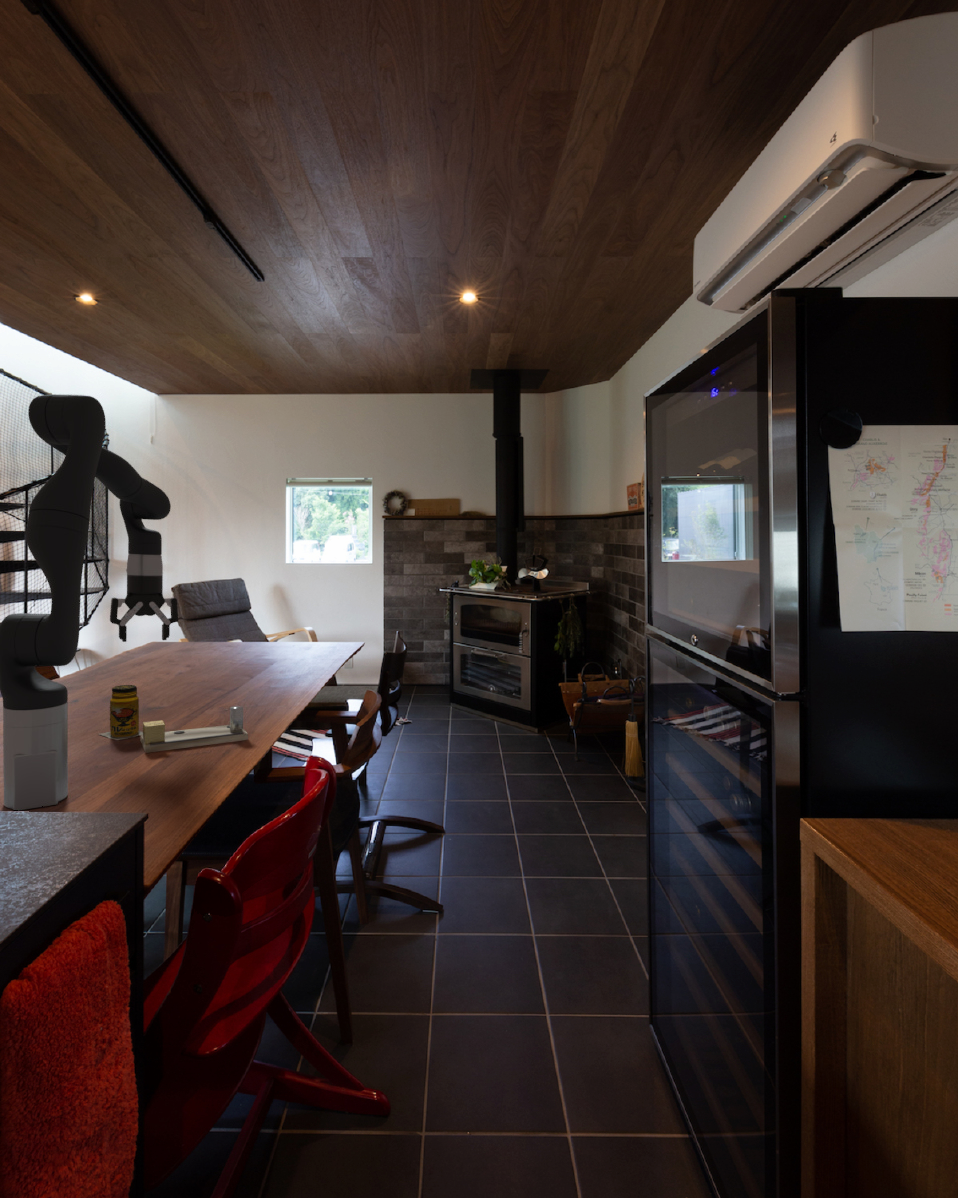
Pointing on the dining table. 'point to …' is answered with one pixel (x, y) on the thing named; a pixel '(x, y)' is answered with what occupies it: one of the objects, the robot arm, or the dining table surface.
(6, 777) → the robot arm
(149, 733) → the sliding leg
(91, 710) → the dining table surface
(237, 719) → the silver cylinder with leg
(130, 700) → the condiment
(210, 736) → the board
